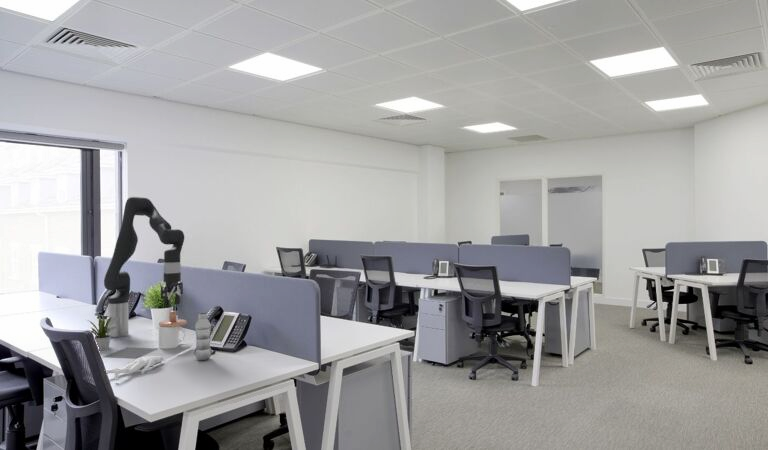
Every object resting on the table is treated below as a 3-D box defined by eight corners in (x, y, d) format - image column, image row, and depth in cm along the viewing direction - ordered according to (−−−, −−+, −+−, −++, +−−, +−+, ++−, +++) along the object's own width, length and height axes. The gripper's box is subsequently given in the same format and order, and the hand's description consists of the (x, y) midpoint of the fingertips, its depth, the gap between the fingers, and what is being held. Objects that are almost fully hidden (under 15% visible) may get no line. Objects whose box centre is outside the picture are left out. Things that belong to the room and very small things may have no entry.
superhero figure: (119, 386, 176) (171, 368, 199) (121, 371, 176) (173, 354, 199) (97, 379, 180) (151, 362, 203) (98, 364, 180) (152, 348, 203)
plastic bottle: (214, 358, 207) (214, 312, 207) (203, 362, 201) (203, 315, 201) (202, 356, 210) (202, 311, 209) (191, 361, 203) (191, 314, 203)
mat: (102, 358, 207) (102, 357, 207) (127, 348, 222) (127, 347, 222) (136, 360, 204) (136, 358, 204) (158, 350, 220) (158, 348, 220)
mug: (189, 346, 227) (188, 323, 227) (163, 351, 218) (163, 328, 218) (180, 343, 233) (180, 321, 233) (155, 348, 224) (155, 325, 224)
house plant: (129, 348, 224) (128, 313, 224) (100, 355, 211) (100, 318, 211) (109, 344, 230) (108, 310, 230) (80, 351, 217) (80, 316, 217)
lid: (153, 326, 221) (153, 313, 221) (168, 321, 233) (168, 308, 233) (177, 327, 219) (177, 314, 219) (191, 322, 231) (191, 309, 231)
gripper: (173, 269, 233) (173, 302, 233) (155, 273, 219) (155, 308, 219) (187, 270, 232) (187, 303, 232) (170, 273, 218) (170, 308, 218)
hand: (172, 305), depth 225 cm, fingers open, 8 cm apart
